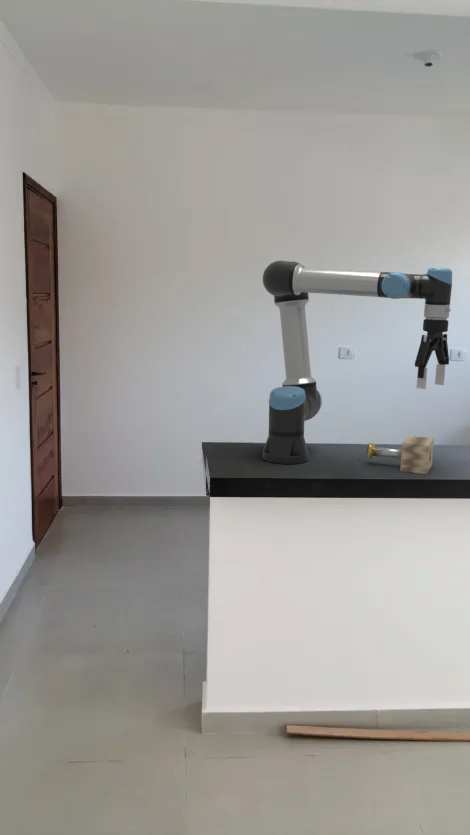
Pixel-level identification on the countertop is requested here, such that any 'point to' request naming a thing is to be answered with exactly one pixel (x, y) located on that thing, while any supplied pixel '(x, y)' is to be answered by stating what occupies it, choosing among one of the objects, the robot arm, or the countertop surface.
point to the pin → (382, 452)
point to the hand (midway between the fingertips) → (430, 386)
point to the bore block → (417, 454)
